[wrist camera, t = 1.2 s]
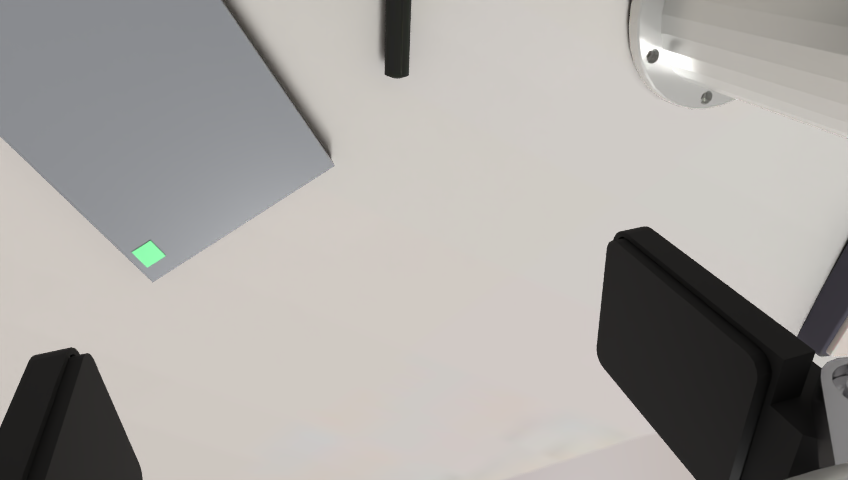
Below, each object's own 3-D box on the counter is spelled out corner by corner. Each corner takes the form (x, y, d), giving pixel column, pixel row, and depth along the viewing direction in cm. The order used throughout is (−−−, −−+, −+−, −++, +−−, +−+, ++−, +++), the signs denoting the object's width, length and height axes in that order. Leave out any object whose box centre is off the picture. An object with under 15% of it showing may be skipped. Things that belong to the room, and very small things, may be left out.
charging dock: (-85, -448, 20) (-99, -464, 19) (331, 159, 34) (334, 166, 33) (-390, -256, 20) (-418, -263, 19) (154, 273, 34) (152, 282, 33)
